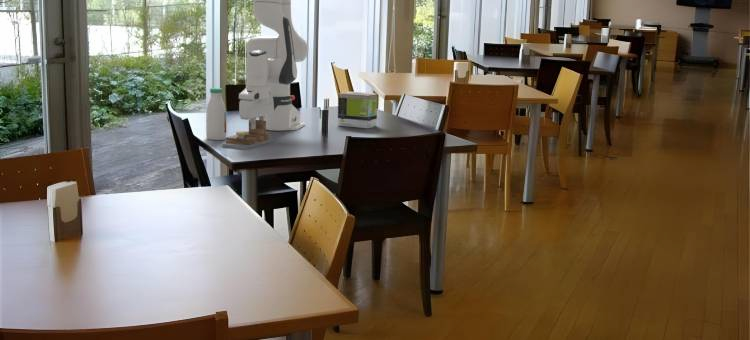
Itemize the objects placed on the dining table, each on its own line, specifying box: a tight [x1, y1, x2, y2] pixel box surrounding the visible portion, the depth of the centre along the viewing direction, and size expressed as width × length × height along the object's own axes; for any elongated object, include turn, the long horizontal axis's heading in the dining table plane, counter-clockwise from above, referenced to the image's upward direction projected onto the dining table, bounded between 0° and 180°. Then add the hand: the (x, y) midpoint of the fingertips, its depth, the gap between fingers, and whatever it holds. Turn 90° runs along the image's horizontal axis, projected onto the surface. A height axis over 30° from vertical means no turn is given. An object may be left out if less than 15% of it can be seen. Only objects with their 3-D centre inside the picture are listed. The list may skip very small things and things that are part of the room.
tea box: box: [337, 91, 378, 129], centre depth 378 cm, size 15×10×15 cm, turn 65°
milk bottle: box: [205, 87, 227, 141], centre depth 335 cm, size 8×8×20 cm
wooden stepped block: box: [225, 119, 271, 145], centre depth 328 cm, size 16×10×7 cm, turn 156°
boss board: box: [221, 130, 273, 150], centre depth 328 cm, size 20×10×5 cm, turn 157°
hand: (257, 128), depth 334 cm, fingers closed on wooden stepped block, 3 cm apart
